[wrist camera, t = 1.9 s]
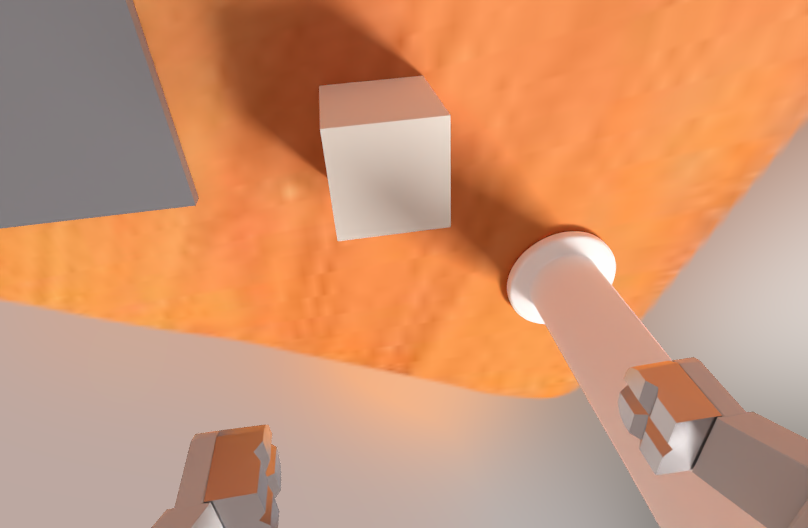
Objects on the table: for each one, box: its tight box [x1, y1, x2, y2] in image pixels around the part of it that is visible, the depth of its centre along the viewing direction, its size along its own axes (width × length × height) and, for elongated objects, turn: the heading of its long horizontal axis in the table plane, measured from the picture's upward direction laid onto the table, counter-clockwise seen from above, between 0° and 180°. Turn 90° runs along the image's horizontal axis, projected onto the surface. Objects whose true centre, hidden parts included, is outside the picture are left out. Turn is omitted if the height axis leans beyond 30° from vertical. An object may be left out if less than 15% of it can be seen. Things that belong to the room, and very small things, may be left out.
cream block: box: [319, 76, 451, 241], centre depth 23 cm, size 5×5×6 cm
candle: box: [507, 231, 766, 528], centre depth 22 cm, size 7×7×25 cm
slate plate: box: [0, 0, 199, 228], centre depth 22 cm, size 11×11×1 cm
